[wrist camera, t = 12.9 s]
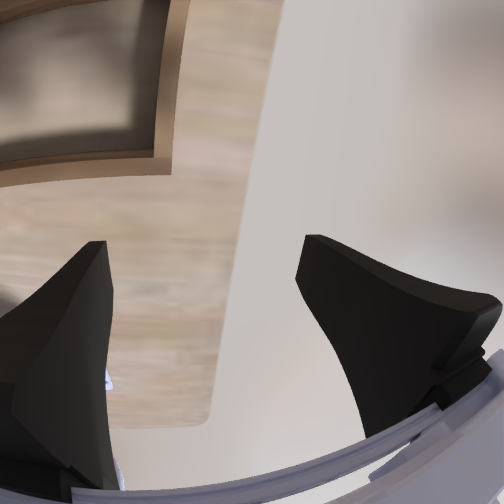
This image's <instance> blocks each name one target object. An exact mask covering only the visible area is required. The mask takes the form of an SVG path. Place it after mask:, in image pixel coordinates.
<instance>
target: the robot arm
mask: <svg viewBox="0 0 504 504" xmlns="http://www.w3.org/2000/svg"><path fill="white" fill-rule="evenodd" d="M295 279H296V282H297V285H298V287H299V290H300V292H301V294H302V296H303V299H304V301H305V302H306V304H307V306H308V307H309V309H310V311H311V312H312V314H313V316H314V317H315V319H316V320H317V322H318V323H319V325H320V327H321V328H322V330H323V331H324V333H325V335H326V336H327V338H328V339H329V341H330V343H331V344H332V346H333V348H334V350H335V352H336V354H337V356H338V358H339V361H340V363H341V365H342V367H343V369H344V372H345V374H346V377H347V379H348V382H349V384H350V386H351V389H352V392H353V395H354V397H355V401H356V404H357V407H358V409H359V413H360V417H361V421H362V424H363V428H364V432H365V437H366V439H365V440H362V441H360V442H358V443H356V444H354V445H351V446H348V447H346V448H344V449H341V450H338V451H336V452H333V453H331V454H328V455H325V456H322V457H320V458H317V459H314V460H311V461H308V462H305V463H302V464H299V465H296V466H292V467H288V468H285V469H281V470H278V471H274V472H270V473H266V474H263V475H258V476H254V477H249V478H245V479H240V480H235V481H229V482H224V483H218V484H211V485H204V486H196V487H188V488H177V489H166V490H165V489H164V490H138V491H125V485H124V479H123V474H122V471H121V469H120V466H119V465H118V463H117V462H116V460H115V458H114V457H113V455H112V448H111V442H110V435H109V426H108V416H107V405H106V390H111V389H113V384H112V381H111V379H110V376H109V374H108V371H107V368H106V363H107V353H108V345H109V337H110V330H111V323H112V316H113V291H114V290H113V285H112V279H111V272H110V266H109V259H108V251H107V244H106V241H89V242H88V243H87V244H86V245H85V246H83V247H82V248H81V249H80V250H79V251H78V252H77V253H76V254H75V255H74V256H73V257H72V258H71V259H70V260H69V261H68V262H67V263H66V264H65V265H64V266H63V267H62V268H61V269H60V270H59V271H58V272H57V273H56V274H55V275H53V276H52V277H51V278H50V279H49V280H48V281H47V282H46V283H45V284H44V285H43V286H42V287H41V288H39V289H38V290H37V291H36V292H35V293H34V294H32V295H31V296H30V297H29V298H27V299H26V300H25V301H24V302H22V303H21V304H20V305H18V306H17V307H16V308H14V309H13V310H11V311H10V312H8V313H7V314H6V315H4V316H3V317H1V318H0V504H262V503H266V502H270V501H274V500H277V499H281V498H284V497H288V496H291V495H294V494H297V493H300V492H303V491H306V490H309V489H312V488H315V487H317V486H320V485H323V484H325V483H327V482H330V481H333V480H335V479H338V478H340V477H342V476H345V475H347V474H349V473H352V472H354V471H356V470H358V469H360V468H363V467H364V466H367V465H369V464H370V463H373V462H375V461H377V460H379V459H380V458H383V457H385V456H386V455H388V454H390V453H392V452H394V451H395V450H397V449H399V448H401V447H402V446H404V445H406V444H408V443H409V442H410V444H409V445H408V446H407V447H405V448H404V449H402V450H401V451H400V452H399V453H398V454H397V455H396V456H395V457H393V458H392V459H391V460H389V461H388V462H387V463H385V464H384V465H383V466H381V467H380V468H378V469H377V470H376V471H374V472H372V473H371V474H369V476H368V477H369V479H370V481H371V482H370V483H368V484H367V485H365V486H363V487H361V488H358V489H356V490H354V491H352V492H350V493H348V494H346V495H344V496H341V497H339V498H337V499H334V500H332V501H330V502H328V503H325V504H500V503H499V501H498V500H497V496H498V495H499V494H500V493H501V492H502V490H503V489H504V350H503V349H499V350H498V351H497V352H496V353H494V354H493V355H492V356H491V357H490V358H489V359H488V360H487V361H485V360H484V359H483V358H482V356H483V355H484V354H485V350H484V349H483V348H482V347H481V345H482V344H483V343H484V341H485V340H486V338H487V337H488V335H489V334H490V332H491V331H492V329H493V328H494V326H495V324H496V323H497V321H498V319H499V317H500V315H501V312H502V307H503V306H502V303H501V302H500V301H499V300H498V299H497V298H496V297H494V296H492V295H490V294H485V293H478V292H471V291H464V290H459V289H454V288H450V287H446V286H443V285H438V284H435V283H432V282H429V281H426V280H422V279H419V278H416V277H414V276H411V275H409V274H406V273H403V272H401V271H398V270H396V269H394V268H391V267H389V266H387V265H385V264H383V263H380V262H378V261H376V260H374V259H372V258H370V257H368V256H366V255H364V254H362V253H360V252H358V251H356V250H354V249H352V248H350V247H348V246H346V245H344V244H342V243H340V242H337V241H335V240H333V239H331V238H328V237H326V236H323V235H306V236H305V240H304V245H303V249H302V253H301V257H300V262H299V265H298V270H297V274H296V278H295Z"/></svg>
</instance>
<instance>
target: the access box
mask: <svg viewBox="0 0 504 504" xmlns="http://www.w3.org/2000/svg"><path fill="white" fill-rule="evenodd" d="M99 1H108V0H0V24H3V23H6V22H9V21H12V20H15V19H18V18H21V17H24V16H28V15H32V14H35V13H39V12H43V11H47V10H52V9H56V8H61V7H66V6H72V5H77V4H84V3H91V2H99ZM189 4H190V0H171V3H170V8H169V14H168V19H167V25H166V31H165V38H164V45H163V52H162V59H161V68H160V76H159V86H158V96H157V108H156V122H155V140H154V149H139V150H114V151H97V152H84V153H73V154H63V155H53V156H45V157H37V158H30V159H23V160H17V161H11V162H5V163H0V187H7V186H15V185H23V184H31V183H40V182H49V181H60V180H71V179H84V178H99V177H118V176H145V175H171V168H172V148H173V133H174V120H175V108H176V97H177V87H178V78H179V70H180V62H181V54H182V47H183V40H184V34H185V27H186V21H187V15H188V10H189Z"/></svg>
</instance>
